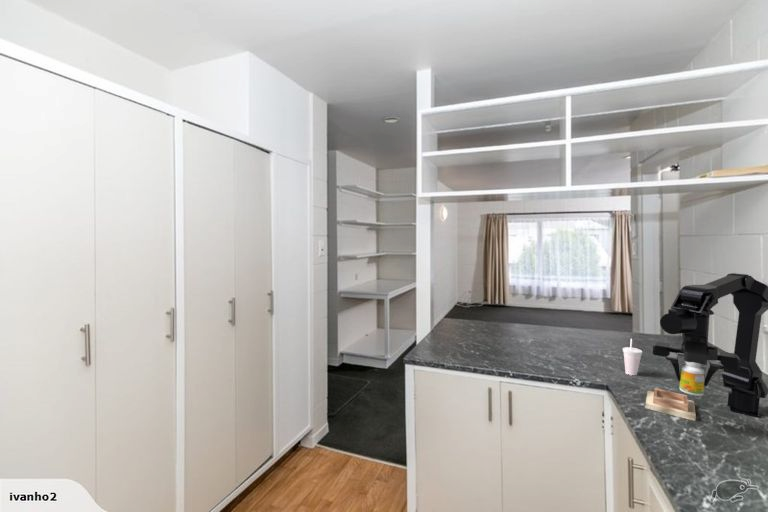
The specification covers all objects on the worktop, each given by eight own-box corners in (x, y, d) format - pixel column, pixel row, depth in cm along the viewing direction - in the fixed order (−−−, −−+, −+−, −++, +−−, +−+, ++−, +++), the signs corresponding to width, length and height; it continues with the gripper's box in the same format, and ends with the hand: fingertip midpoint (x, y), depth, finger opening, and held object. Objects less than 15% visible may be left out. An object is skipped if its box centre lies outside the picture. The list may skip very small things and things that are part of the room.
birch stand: (693, 405, 115) (694, 395, 115) (695, 421, 106) (696, 409, 106) (647, 394, 123) (648, 384, 123) (645, 408, 114) (646, 397, 113)
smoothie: (622, 369, 145) (624, 335, 144) (641, 373, 141) (644, 338, 140) (620, 374, 140) (622, 339, 139) (640, 378, 136) (642, 342, 135)
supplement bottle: (674, 387, 107) (676, 355, 106) (692, 387, 107) (694, 355, 106) (689, 396, 101) (691, 362, 101) (708, 396, 101) (711, 362, 100)
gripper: (653, 331, 102) (650, 384, 103) (746, 344, 91) (741, 403, 92) (654, 323, 111) (651, 372, 112) (738, 333, 99) (734, 388, 101)
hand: (691, 383), depth 104 cm, fingers closed on supplement bottle, 5 cm apart
